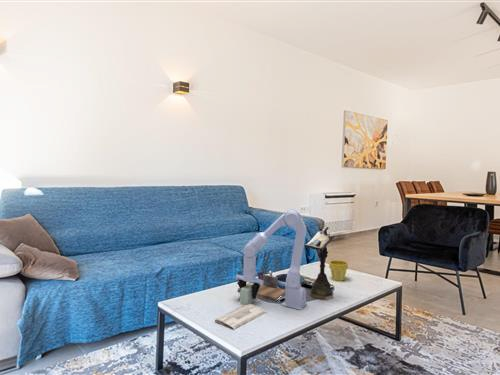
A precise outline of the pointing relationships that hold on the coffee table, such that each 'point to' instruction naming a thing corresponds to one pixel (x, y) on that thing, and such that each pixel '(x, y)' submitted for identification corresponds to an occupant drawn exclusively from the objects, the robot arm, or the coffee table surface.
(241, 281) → the robot arm
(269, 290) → the shelf board
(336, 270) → the plant pot
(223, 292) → the coffee table surface
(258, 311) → the newspaper
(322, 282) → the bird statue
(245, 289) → the pale green rectangular block
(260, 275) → the game card
